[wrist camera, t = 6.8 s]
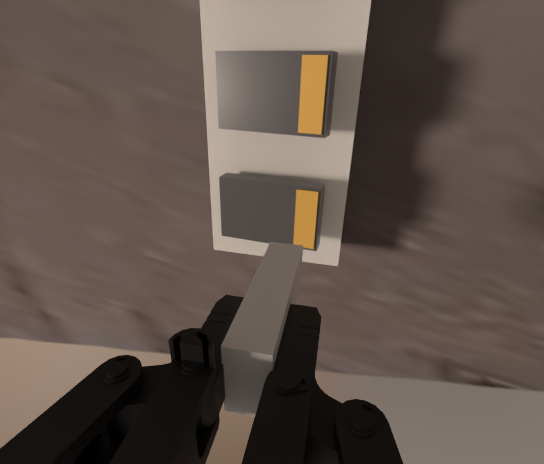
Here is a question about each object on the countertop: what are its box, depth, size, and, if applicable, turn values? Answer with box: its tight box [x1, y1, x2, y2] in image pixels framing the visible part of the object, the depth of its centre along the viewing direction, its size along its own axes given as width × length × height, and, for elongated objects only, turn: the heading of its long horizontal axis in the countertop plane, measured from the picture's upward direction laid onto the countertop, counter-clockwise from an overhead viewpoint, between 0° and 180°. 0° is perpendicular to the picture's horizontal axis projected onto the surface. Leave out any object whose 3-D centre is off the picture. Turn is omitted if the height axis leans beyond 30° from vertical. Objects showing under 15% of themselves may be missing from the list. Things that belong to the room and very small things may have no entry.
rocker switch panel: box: [200, 0, 371, 266], centre depth 21 cm, size 30×10×4 cm, turn 179°
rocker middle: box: [215, 51, 338, 138], centre depth 20 cm, size 4×7×1 cm, turn 89°
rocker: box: [219, 173, 325, 251], centre depth 23 cm, size 4×7×1 cm, turn 89°
